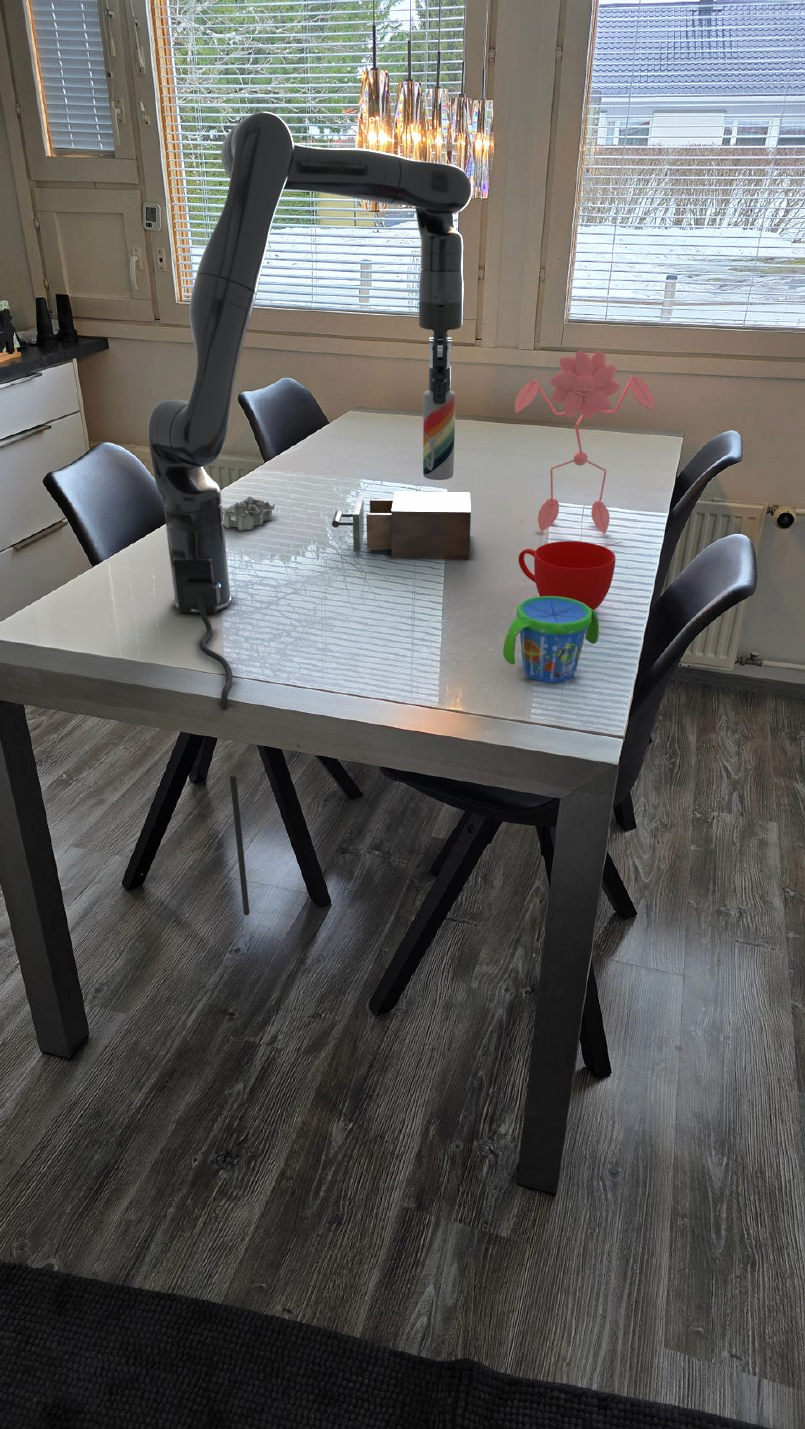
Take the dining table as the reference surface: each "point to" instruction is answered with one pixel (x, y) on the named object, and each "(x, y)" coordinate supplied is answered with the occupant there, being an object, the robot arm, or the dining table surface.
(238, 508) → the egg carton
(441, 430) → the lotion bottle
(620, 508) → the dining table surface
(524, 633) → the snack cup
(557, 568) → the ceramic cup
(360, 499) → the drawer
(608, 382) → the figurine
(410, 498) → the cabinet
